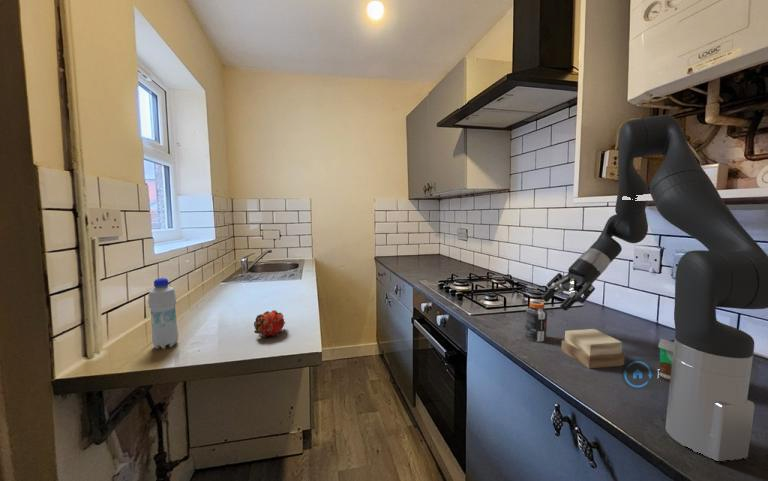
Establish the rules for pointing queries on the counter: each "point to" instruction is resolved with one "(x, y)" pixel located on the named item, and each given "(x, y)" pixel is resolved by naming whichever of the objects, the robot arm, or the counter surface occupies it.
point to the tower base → (592, 358)
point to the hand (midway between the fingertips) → (552, 304)
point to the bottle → (163, 314)
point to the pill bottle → (536, 322)
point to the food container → (666, 359)
